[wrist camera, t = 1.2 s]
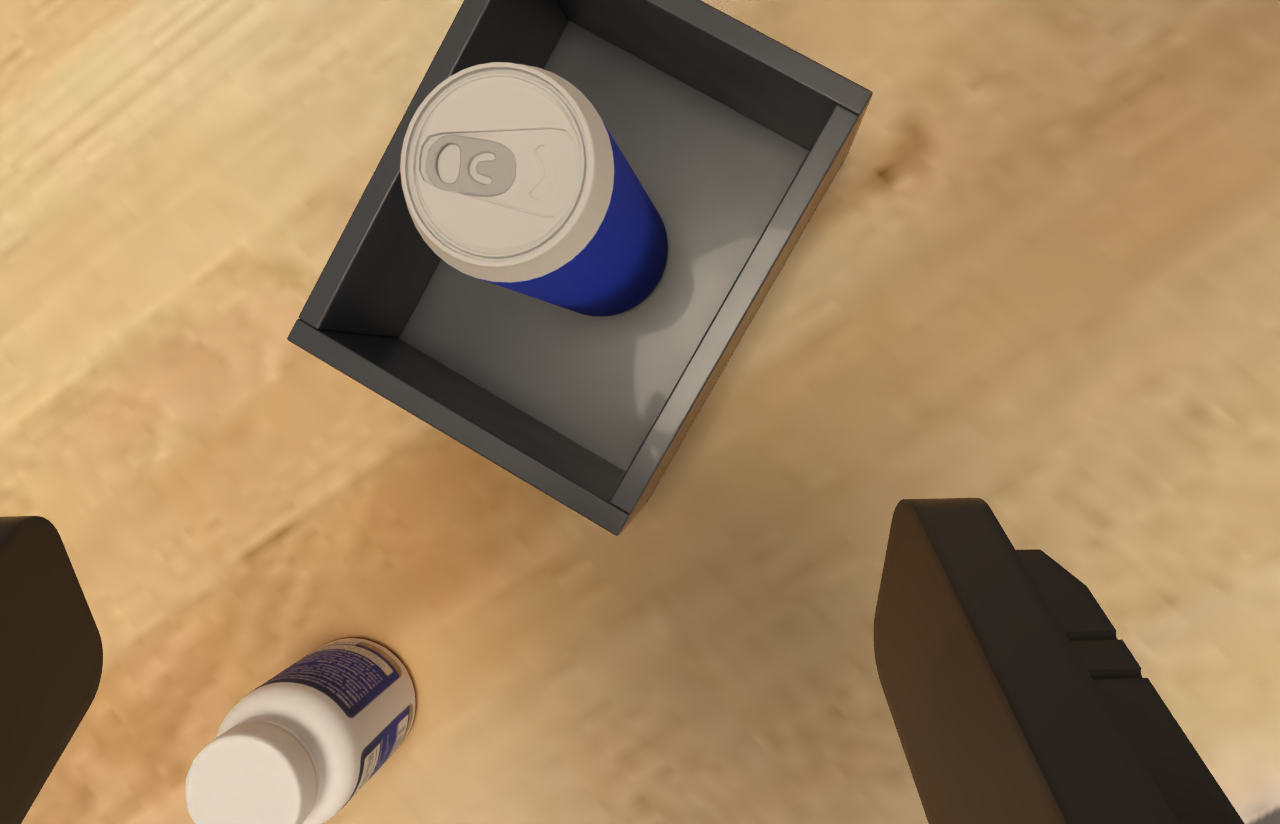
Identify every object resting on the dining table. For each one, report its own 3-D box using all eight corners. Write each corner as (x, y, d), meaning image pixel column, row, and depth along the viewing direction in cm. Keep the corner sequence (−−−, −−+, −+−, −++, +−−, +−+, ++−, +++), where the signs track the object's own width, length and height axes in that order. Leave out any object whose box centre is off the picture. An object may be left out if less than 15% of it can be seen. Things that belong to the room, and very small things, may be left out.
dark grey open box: (564, -2, 36) (515, -99, 29) (848, 151, 35) (873, 91, 28) (379, 346, 38) (285, 339, 30) (645, 504, 37) (617, 537, 29)
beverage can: (678, 191, 36) (622, 61, 21) (659, 325, 36) (591, 292, 21) (546, 175, 36) (401, 38, 21) (529, 308, 37) (374, 263, 22)
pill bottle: (279, 659, 39) (141, 742, 30) (391, 618, 38) (283, 690, 30) (324, 778, 39) (199, 896, 30) (437, 739, 38) (342, 847, 30)
